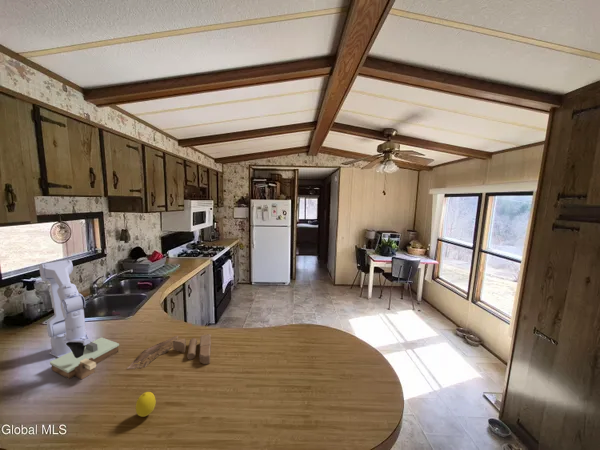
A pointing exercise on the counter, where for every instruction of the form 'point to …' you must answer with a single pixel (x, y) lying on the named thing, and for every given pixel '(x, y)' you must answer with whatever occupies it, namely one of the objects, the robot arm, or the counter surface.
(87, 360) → the key
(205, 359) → the wooden block set
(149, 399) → the lemon
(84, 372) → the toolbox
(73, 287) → the robot arm
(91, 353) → the lid
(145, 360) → the wooden fragment
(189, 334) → the counter surface
